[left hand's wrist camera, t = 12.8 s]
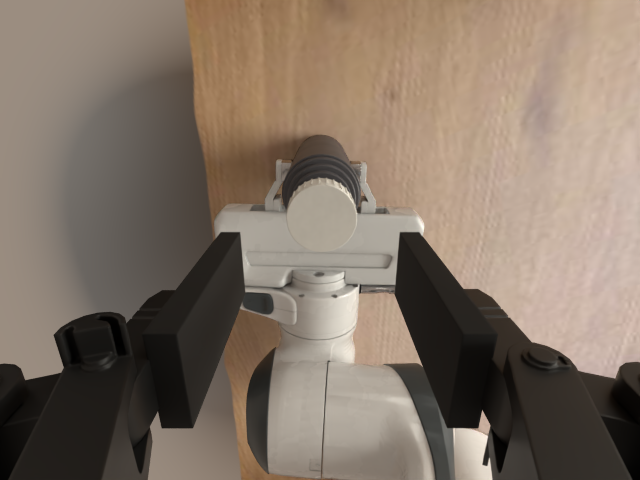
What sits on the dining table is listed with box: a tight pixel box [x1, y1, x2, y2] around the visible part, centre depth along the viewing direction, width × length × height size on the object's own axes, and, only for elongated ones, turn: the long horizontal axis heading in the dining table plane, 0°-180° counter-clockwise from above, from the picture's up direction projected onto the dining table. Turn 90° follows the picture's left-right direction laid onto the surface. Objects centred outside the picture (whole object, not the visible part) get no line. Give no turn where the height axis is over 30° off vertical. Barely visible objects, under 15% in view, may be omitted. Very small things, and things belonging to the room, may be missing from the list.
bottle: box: [282, 135, 361, 210], centre depth 30 cm, size 6×6×21 cm
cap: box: [286, 177, 357, 252], centre depth 20 cm, size 4×4×2 cm
